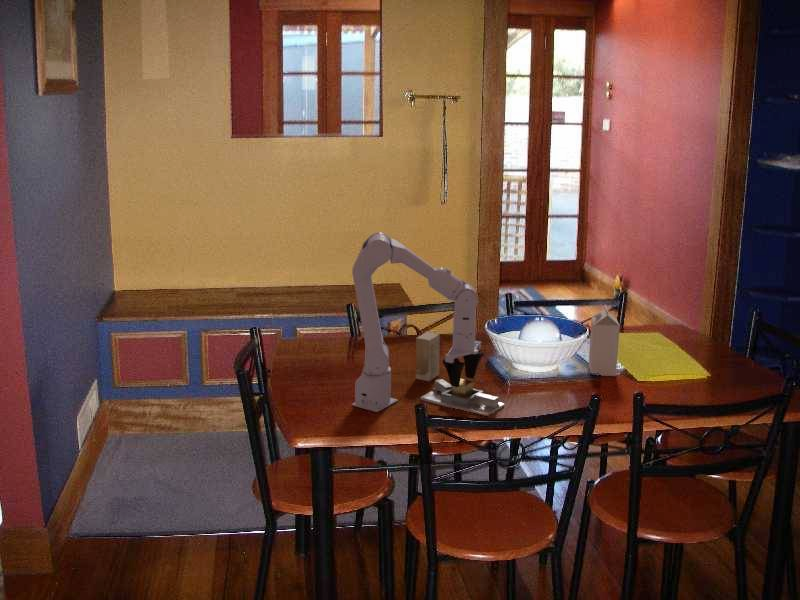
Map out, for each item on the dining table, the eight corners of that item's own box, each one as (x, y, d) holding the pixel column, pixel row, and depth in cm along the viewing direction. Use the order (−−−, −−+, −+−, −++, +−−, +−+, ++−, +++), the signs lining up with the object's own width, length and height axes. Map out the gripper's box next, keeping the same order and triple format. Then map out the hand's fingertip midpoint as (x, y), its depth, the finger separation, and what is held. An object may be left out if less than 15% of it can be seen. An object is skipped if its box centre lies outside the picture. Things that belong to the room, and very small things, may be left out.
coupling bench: (487, 417, 235) (487, 403, 234) (420, 399, 246) (420, 386, 245) (504, 406, 242) (505, 393, 241) (438, 389, 253) (438, 377, 252)
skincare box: (426, 372, 266) (426, 331, 263) (439, 375, 264) (440, 333, 261) (414, 379, 261) (415, 337, 258) (428, 382, 259) (429, 339, 256)
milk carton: (613, 368, 271) (617, 305, 266) (616, 376, 264) (620, 312, 259) (588, 367, 272) (592, 304, 267) (590, 375, 265) (594, 311, 260)
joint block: (464, 404, 241) (465, 385, 240) (451, 400, 243) (452, 382, 242) (472, 399, 244) (473, 381, 243) (459, 396, 247) (460, 378, 245)
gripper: (463, 341, 231) (461, 393, 235) (492, 327, 243) (489, 377, 246) (438, 336, 235) (437, 387, 238) (468, 322, 246) (466, 371, 250)
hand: (462, 381), depth 243 cm, fingers open, 7 cm apart
